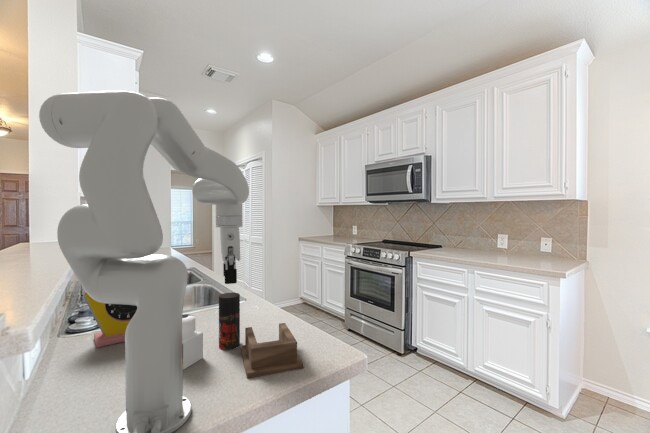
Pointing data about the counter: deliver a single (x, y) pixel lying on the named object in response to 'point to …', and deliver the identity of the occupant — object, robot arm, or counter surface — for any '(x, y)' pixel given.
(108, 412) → the counter surface
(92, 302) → the yellow clock
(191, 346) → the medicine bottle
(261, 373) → the cradle
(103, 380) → the counter surface
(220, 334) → the deodorant
